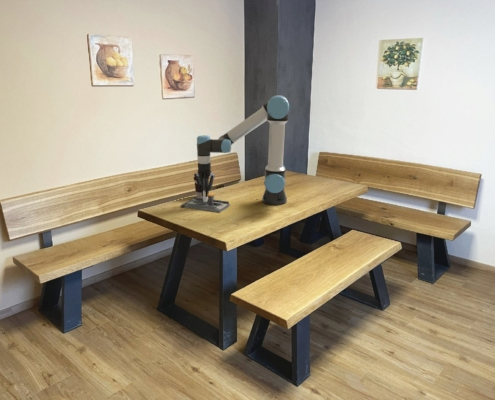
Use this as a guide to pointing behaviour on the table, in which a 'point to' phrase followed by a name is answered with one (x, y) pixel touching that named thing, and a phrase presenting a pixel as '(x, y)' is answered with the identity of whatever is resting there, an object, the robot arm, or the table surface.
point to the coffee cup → (198, 192)
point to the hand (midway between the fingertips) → (205, 201)
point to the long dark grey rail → (214, 200)
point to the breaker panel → (206, 206)
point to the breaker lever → (210, 198)
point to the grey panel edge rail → (186, 203)
